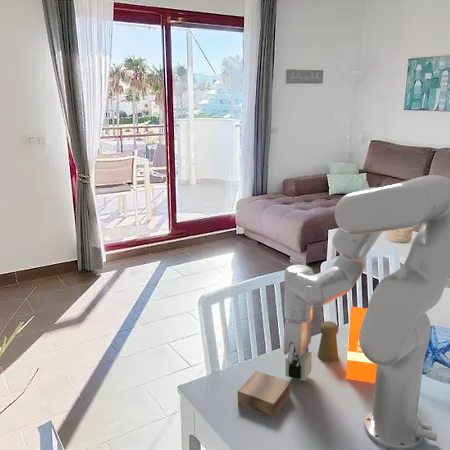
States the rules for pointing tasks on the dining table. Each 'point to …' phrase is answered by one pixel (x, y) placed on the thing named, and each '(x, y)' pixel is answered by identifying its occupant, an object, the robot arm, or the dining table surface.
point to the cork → (328, 342)
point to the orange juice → (358, 351)
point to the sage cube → (302, 365)
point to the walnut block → (264, 394)
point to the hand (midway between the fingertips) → (298, 371)
